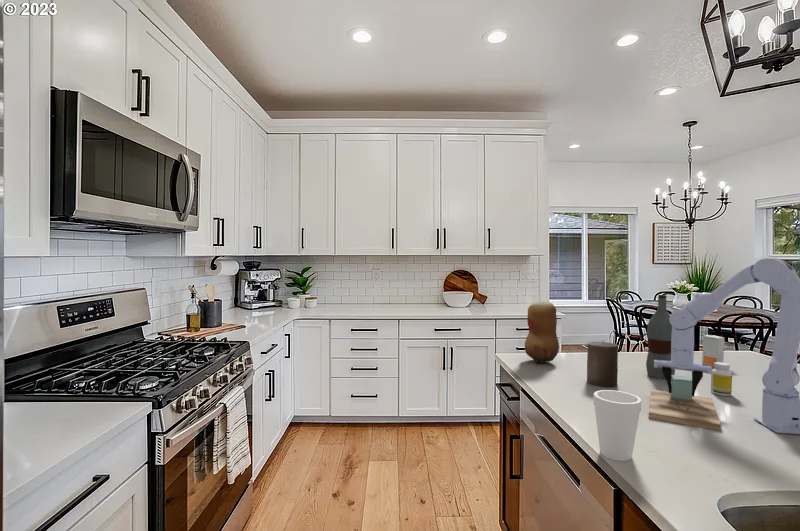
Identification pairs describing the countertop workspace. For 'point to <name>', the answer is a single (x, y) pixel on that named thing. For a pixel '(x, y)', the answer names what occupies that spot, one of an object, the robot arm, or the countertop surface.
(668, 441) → the countertop surface
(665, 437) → the countertop surface
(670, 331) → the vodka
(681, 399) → the block
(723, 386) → the supplement bottle
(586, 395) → the countertop surface
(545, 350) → the butternut squash
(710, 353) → the skincare box
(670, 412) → the oak board
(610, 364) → the pillar candle
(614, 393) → the foam cup
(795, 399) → the robot arm
